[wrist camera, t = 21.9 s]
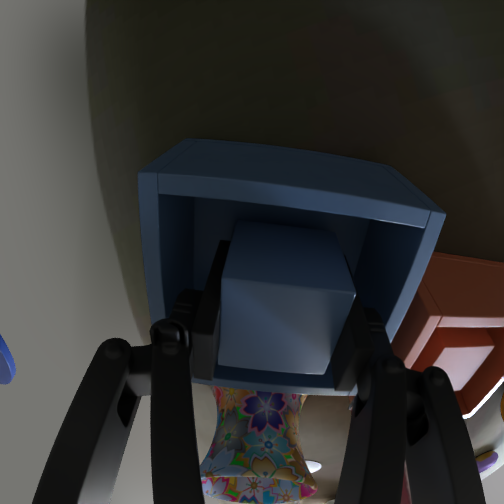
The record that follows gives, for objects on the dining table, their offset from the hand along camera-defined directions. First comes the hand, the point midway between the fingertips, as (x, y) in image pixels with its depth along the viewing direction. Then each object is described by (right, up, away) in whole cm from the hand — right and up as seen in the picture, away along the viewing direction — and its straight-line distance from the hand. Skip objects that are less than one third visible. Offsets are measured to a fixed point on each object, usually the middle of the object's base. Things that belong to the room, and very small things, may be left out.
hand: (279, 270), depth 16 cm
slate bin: (0, +2, +3) cm, 3 cm away
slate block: (0, 0, 0) cm, 0 cm away
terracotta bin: (+13, -4, +5) cm, 14 cm away
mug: (0, -12, +11) cm, 16 cm away
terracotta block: (+13, -5, +4) cm, 14 cm away
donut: (+52, -48, +28) cm, 76 cm away
